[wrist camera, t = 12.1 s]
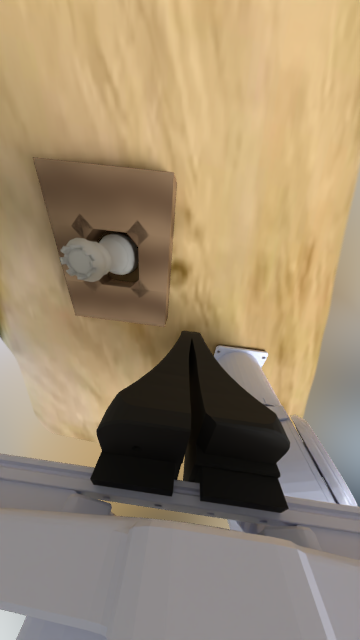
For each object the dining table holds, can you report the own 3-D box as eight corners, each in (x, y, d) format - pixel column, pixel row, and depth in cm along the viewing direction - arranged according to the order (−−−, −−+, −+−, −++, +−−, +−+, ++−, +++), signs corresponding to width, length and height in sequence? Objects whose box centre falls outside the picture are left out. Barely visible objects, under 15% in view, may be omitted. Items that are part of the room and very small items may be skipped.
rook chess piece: (105, 227, 17) (40, 217, 10) (143, 240, 17) (108, 239, 10) (103, 267, 19) (50, 282, 12) (137, 277, 19) (105, 299, 12)
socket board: (167, 318, 21) (164, 326, 19) (87, 307, 22) (75, 315, 19) (176, 183, 14) (173, 172, 12) (57, 170, 14) (32, 157, 12)
